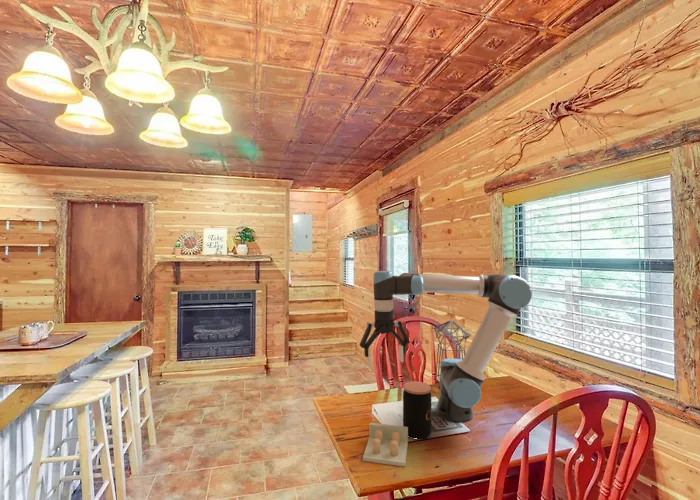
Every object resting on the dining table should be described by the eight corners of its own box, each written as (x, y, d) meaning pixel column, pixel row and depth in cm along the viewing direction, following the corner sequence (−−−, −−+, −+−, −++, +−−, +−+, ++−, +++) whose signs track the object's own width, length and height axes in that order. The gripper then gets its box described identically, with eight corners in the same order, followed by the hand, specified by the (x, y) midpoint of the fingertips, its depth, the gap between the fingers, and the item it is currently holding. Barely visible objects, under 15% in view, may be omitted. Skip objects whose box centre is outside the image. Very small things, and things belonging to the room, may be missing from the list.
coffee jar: (431, 442, 129) (431, 393, 129) (402, 439, 131) (402, 390, 131) (431, 427, 139) (431, 382, 139) (403, 425, 141) (403, 380, 141)
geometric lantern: (460, 383, 185) (461, 317, 184) (471, 396, 170) (472, 324, 169) (430, 383, 185) (431, 317, 184) (438, 396, 169) (440, 324, 168)
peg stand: (407, 443, 128) (407, 426, 128) (405, 466, 114) (405, 448, 114) (369, 438, 131) (369, 422, 131) (362, 460, 117) (362, 442, 117)
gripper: (409, 306, 147) (411, 357, 147) (351, 310, 141) (352, 363, 141) (416, 309, 140) (418, 362, 140) (355, 313, 134) (357, 369, 134)
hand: (385, 363), depth 140 cm, fingers open, 13 cm apart
